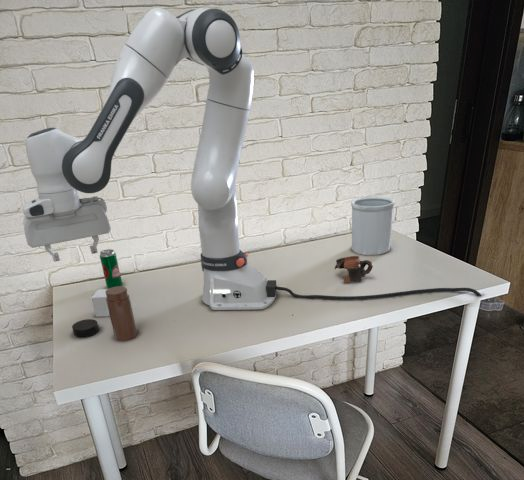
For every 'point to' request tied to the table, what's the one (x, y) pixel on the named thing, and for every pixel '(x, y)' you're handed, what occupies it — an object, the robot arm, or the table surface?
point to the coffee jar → (121, 313)
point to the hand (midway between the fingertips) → (76, 256)
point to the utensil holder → (372, 224)
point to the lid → (85, 328)
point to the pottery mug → (353, 268)
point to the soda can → (110, 268)
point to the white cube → (100, 303)
